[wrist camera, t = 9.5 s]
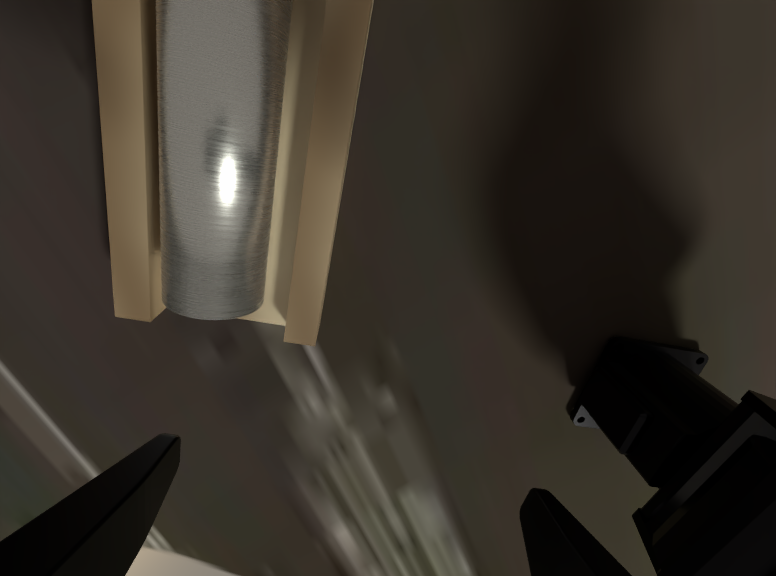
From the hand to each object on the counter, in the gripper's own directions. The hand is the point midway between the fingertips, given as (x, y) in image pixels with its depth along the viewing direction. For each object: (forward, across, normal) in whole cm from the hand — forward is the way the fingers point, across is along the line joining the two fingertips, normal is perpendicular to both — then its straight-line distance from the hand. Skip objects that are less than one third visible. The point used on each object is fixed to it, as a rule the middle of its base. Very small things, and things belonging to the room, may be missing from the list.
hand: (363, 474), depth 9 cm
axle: (+10, +7, -7) cm, 14 cm away
